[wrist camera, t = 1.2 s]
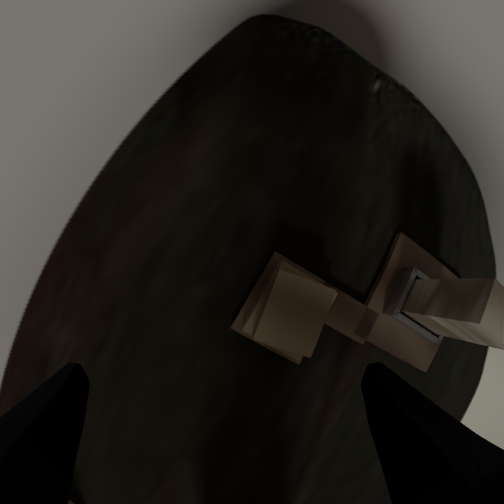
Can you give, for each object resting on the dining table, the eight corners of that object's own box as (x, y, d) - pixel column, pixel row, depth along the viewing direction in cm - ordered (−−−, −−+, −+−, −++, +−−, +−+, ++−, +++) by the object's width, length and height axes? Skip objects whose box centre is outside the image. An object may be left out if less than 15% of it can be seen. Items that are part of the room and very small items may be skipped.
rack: (398, 408, 23) (411, 417, 21) (230, 326, 23) (230, 332, 21) (460, 283, 25) (476, 283, 22) (315, 179, 25) (324, 168, 22)
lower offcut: (295, 356, 23) (298, 361, 21) (241, 327, 22) (242, 330, 21) (331, 292, 23) (338, 293, 22) (280, 261, 23) (283, 260, 22)
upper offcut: (305, 352, 21) (310, 357, 20) (251, 335, 21) (253, 339, 19) (329, 289, 22) (336, 289, 20) (276, 269, 22) (279, 268, 20)
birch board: (427, 331, 23) (510, 351, 12) (392, 309, 23) (479, 323, 12) (439, 303, 24) (524, 311, 13) (406, 279, 24) (495, 277, 13)
